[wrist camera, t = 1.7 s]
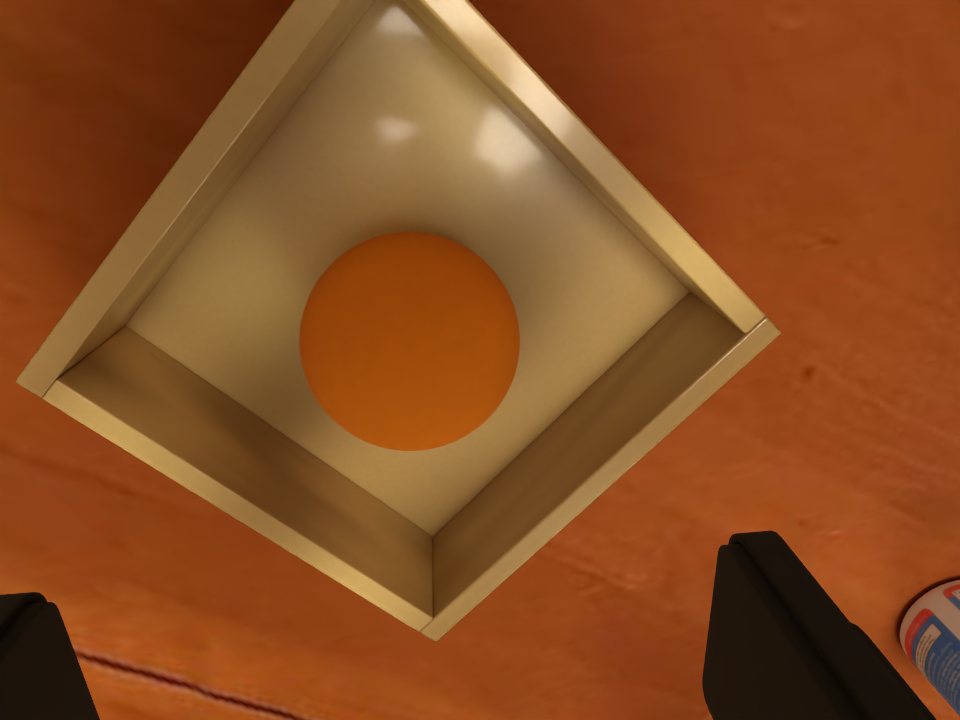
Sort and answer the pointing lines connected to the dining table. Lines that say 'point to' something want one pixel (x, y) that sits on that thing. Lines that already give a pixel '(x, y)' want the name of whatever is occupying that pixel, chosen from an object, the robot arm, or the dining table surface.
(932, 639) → the pill bottle
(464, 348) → the orange
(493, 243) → the wooden tray
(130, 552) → the dining table surface
